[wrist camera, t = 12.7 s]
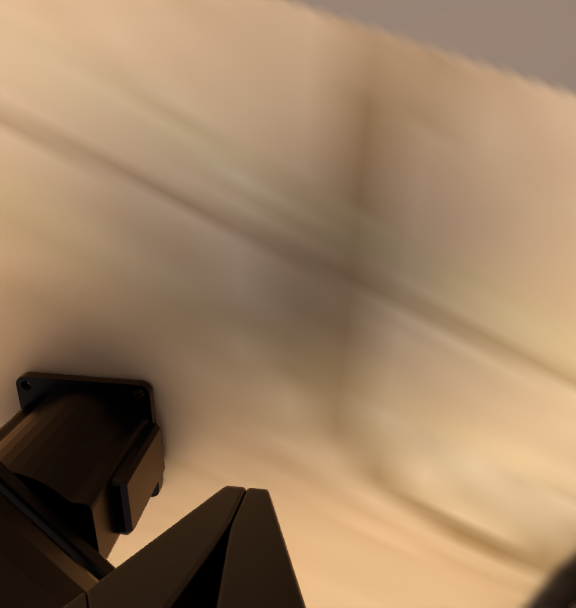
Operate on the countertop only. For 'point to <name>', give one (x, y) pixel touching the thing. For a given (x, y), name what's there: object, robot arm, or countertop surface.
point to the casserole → (572, 605)
